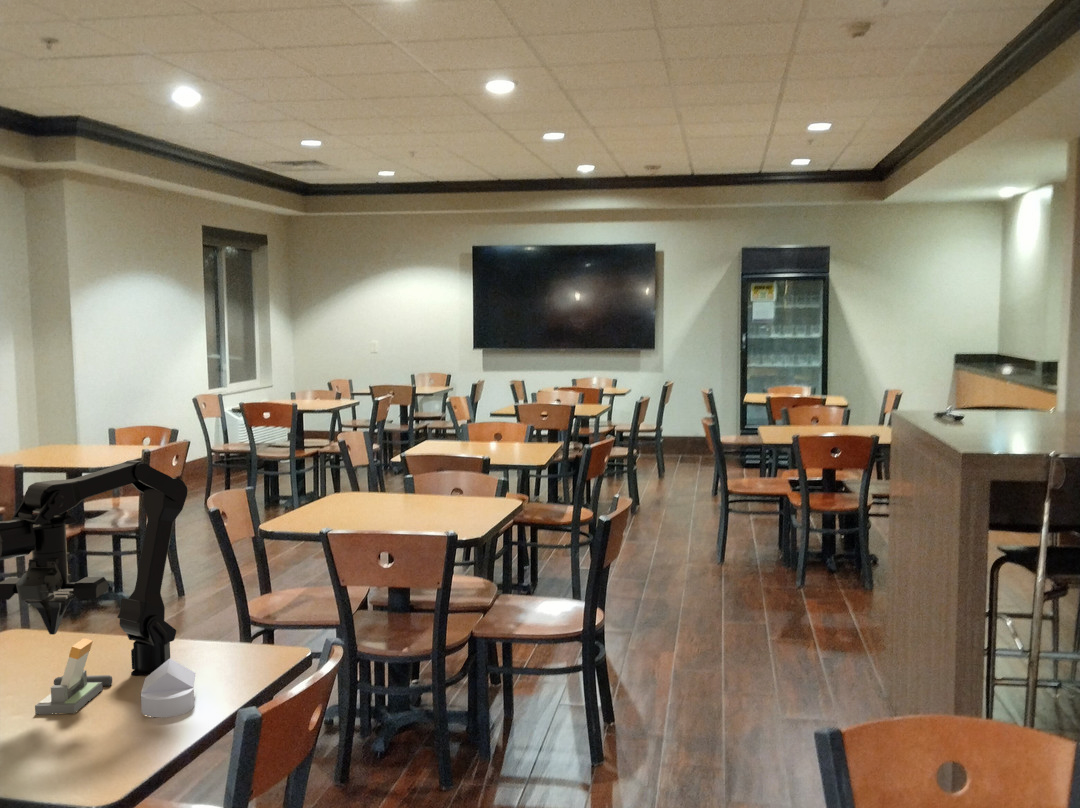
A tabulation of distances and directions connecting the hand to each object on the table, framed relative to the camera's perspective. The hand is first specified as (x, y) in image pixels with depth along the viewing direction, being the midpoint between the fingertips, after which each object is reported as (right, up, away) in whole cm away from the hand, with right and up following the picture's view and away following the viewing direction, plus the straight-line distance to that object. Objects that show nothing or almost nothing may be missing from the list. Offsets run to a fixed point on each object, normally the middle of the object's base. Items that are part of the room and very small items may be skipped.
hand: (53, 634), depth 185 cm
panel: (+3, -13, +1) cm, 13 cm away
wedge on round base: (+22, -13, -1) cm, 25 cm away
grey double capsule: (+2, -12, +10) cm, 16 cm away
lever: (+3, -10, +1) cm, 10 cm away
